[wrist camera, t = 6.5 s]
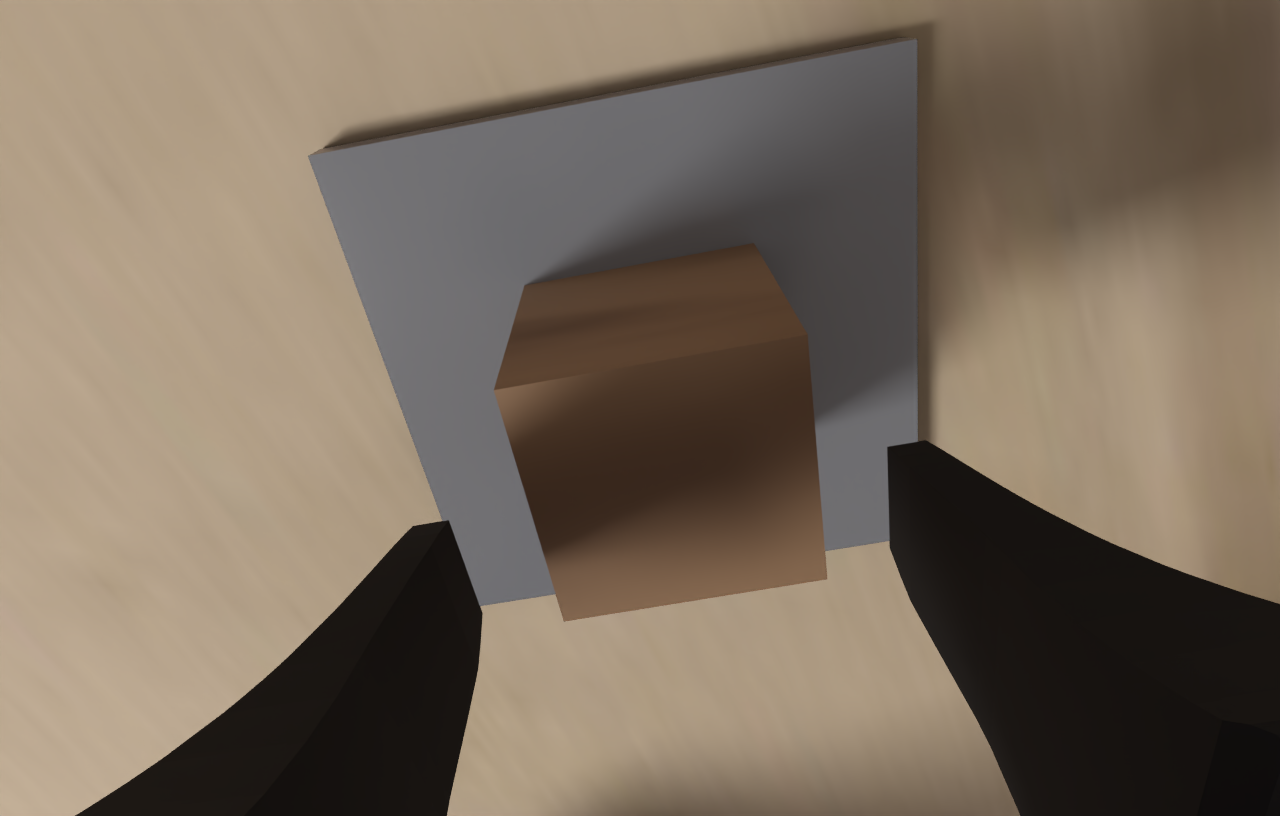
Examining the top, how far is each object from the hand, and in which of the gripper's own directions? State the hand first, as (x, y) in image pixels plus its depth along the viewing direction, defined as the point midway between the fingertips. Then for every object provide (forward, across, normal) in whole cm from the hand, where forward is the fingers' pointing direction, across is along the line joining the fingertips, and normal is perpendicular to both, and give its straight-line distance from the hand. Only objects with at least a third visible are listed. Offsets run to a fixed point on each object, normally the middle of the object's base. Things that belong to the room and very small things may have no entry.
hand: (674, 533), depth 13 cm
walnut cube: (+6, 0, 0) cm, 6 cm away
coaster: (+7, 0, 0) cm, 7 cm away
